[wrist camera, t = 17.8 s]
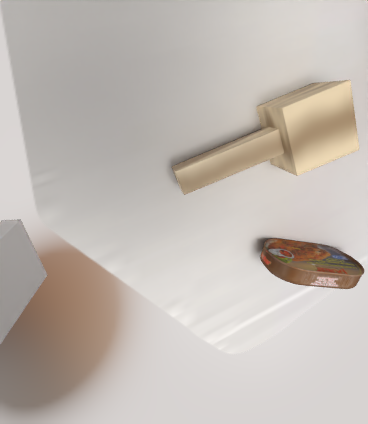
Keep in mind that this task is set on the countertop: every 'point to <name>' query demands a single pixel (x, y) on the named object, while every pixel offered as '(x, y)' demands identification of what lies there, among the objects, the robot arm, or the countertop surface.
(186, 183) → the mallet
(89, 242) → the countertop surface
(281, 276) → the tin
